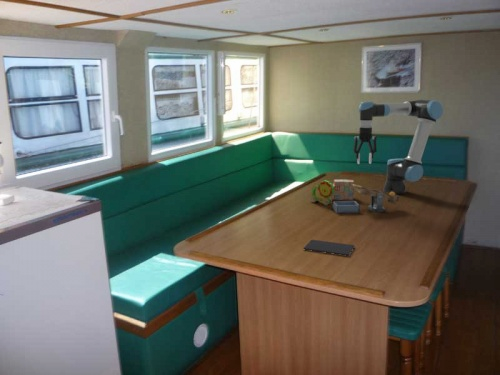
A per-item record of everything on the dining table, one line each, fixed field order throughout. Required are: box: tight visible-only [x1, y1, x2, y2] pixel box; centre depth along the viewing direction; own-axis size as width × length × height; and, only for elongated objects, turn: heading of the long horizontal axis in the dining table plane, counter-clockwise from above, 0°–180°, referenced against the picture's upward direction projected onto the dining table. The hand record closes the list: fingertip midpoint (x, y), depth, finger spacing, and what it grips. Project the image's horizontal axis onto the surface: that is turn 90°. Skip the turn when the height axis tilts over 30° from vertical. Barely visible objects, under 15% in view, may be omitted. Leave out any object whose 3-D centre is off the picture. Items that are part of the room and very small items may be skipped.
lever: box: [352, 183, 400, 205], centre depth 278 cm, size 24×17×5 cm
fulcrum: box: [367, 193, 387, 213], centre depth 274 cm, size 8×11×11 cm
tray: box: [332, 200, 361, 214], centre depth 273 cm, size 14×10×4 cm
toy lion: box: [310, 179, 334, 206], centre depth 289 cm, size 16×5×15 cm, turn 47°
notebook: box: [303, 239, 355, 257], centre depth 213 cm, size 13×2×21 cm
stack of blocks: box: [330, 179, 355, 201], centre depth 301 cm, size 21×6×12 cm, turn 85°
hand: (364, 163), depth 286 cm, fingers open, 7 cm apart
